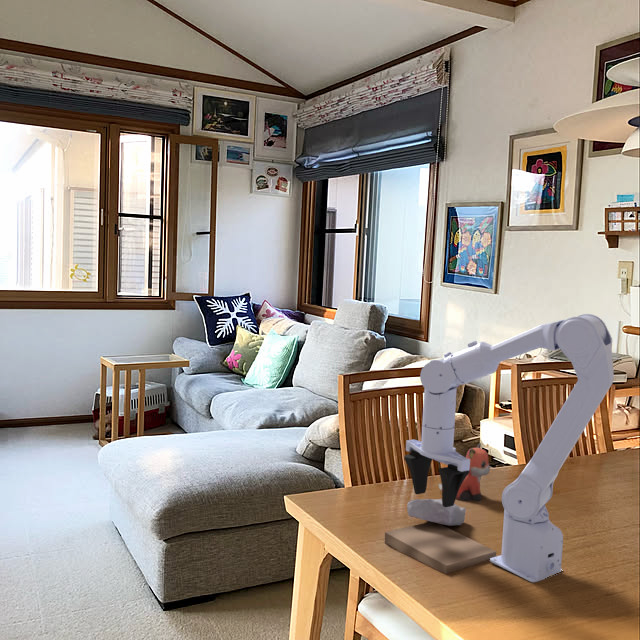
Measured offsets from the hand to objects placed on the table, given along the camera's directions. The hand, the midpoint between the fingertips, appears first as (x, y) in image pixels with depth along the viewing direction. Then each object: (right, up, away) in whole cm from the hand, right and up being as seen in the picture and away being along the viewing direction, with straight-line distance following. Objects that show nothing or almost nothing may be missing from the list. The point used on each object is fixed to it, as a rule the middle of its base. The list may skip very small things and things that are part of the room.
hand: (433, 499), depth 129 cm
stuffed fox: (+11, -7, +30) cm, 33 cm away
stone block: (-3, -6, +12) cm, 13 cm away
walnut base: (+1, -9, -1) cm, 9 cm away
